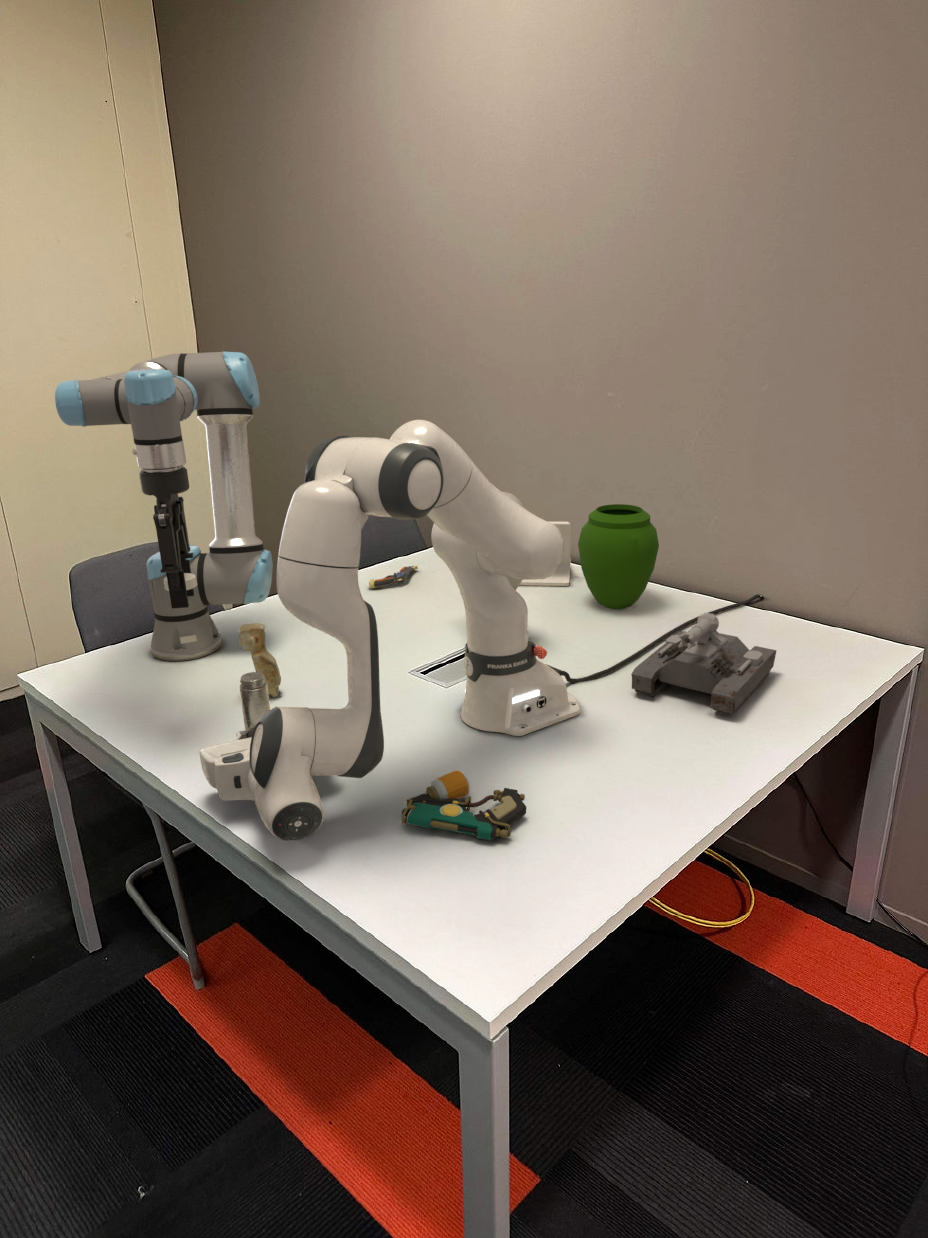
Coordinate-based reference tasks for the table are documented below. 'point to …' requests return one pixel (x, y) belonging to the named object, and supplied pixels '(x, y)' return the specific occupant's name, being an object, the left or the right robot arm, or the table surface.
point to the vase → (618, 554)
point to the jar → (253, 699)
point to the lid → (189, 580)
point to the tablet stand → (563, 571)
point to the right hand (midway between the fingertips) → (258, 731)
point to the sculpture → (260, 654)
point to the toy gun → (393, 577)
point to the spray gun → (463, 808)
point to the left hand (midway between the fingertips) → (183, 601)
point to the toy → (706, 665)
